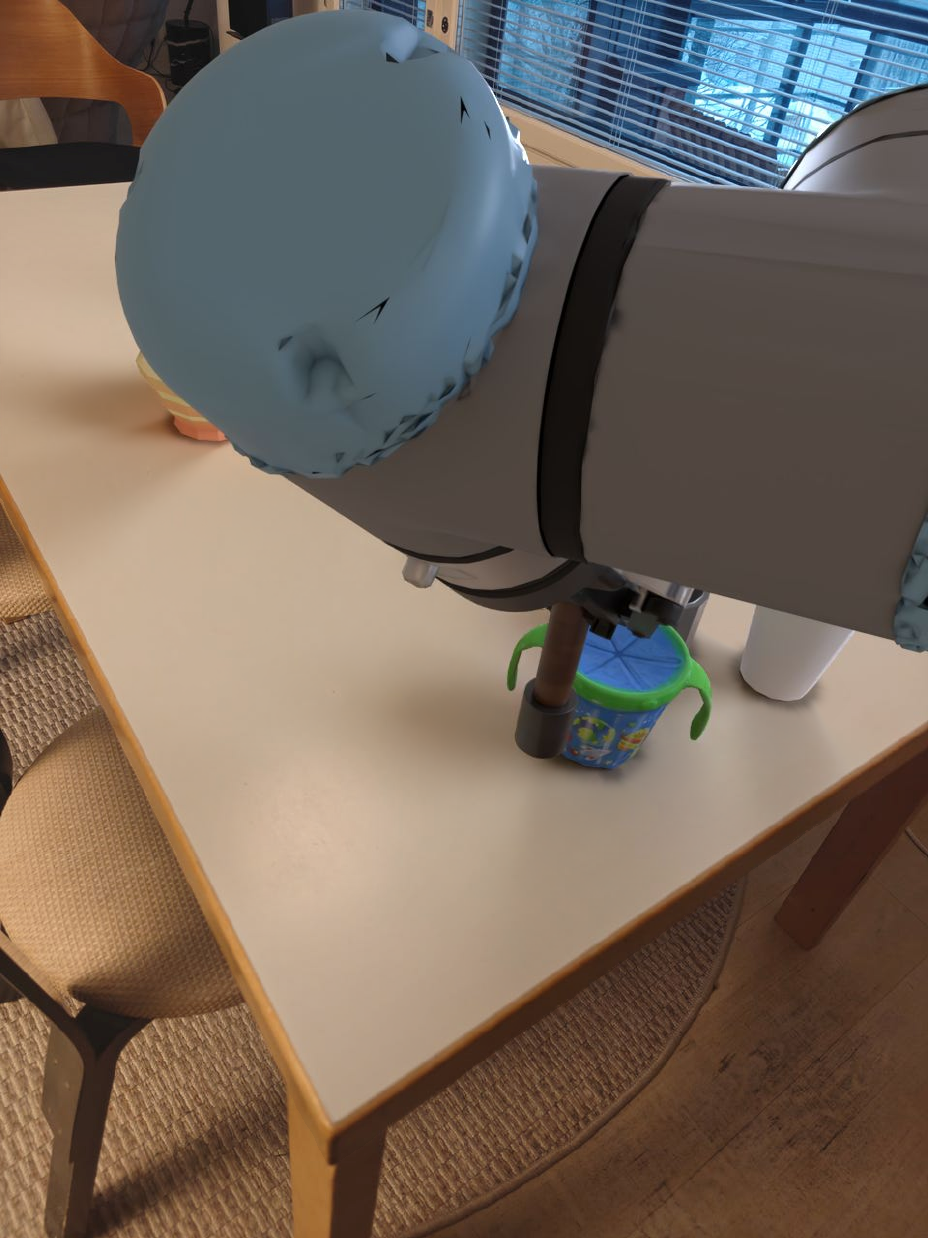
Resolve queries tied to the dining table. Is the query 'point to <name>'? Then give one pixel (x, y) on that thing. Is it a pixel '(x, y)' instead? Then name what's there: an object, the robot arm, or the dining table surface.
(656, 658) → the snack cup
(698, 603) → the grey canister
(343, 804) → the dining table surface
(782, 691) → the foam cup
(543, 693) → the brush
